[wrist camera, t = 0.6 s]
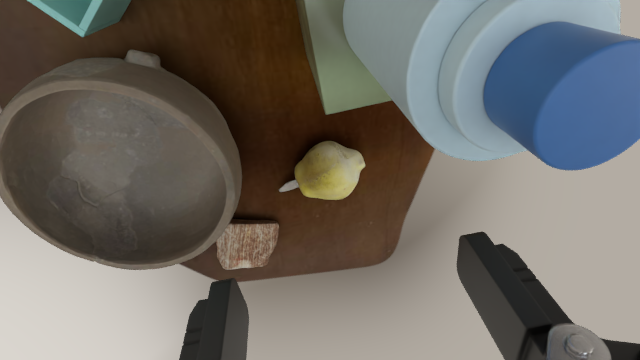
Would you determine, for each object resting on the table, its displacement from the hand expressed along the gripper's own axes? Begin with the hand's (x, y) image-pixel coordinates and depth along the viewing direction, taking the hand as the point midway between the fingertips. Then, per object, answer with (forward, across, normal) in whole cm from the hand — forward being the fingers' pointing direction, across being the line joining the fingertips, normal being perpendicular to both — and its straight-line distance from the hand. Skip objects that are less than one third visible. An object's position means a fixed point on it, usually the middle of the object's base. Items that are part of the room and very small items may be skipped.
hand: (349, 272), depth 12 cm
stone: (+24, +10, +18) cm, 32 cm away
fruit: (+24, 0, +10) cm, 26 cm away
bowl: (+24, +15, +3) cm, 29 cm away
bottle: (+10, -5, -6) cm, 13 cm away
